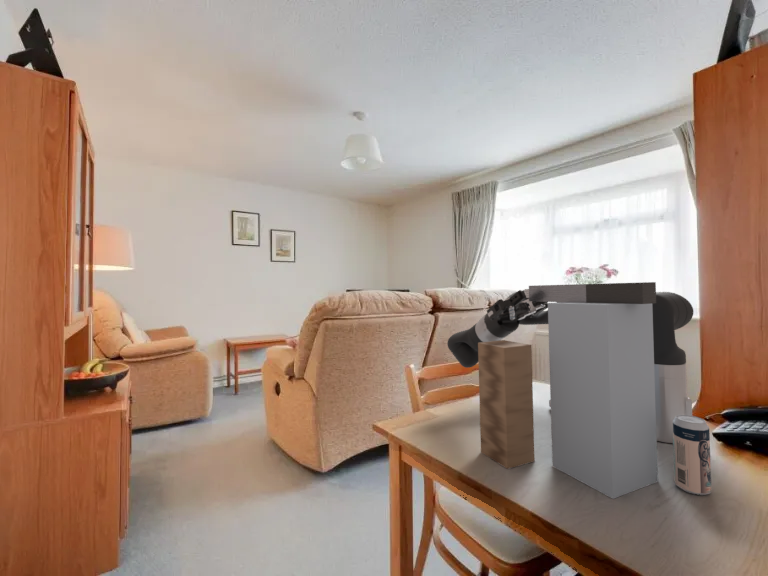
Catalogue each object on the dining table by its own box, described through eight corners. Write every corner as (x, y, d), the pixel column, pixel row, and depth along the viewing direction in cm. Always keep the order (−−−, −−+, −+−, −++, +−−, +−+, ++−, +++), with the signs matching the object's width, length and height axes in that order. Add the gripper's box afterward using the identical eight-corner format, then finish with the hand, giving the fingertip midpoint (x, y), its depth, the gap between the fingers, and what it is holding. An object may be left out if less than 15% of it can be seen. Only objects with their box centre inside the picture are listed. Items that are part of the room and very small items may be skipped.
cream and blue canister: (714, 500, 57) (712, 426, 57) (676, 492, 60) (674, 420, 60) (707, 486, 61) (705, 416, 61) (672, 479, 64) (670, 412, 64)
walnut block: (480, 452, 76) (477, 342, 76) (506, 445, 79) (503, 340, 79) (507, 468, 69) (504, 347, 69) (534, 461, 72) (531, 344, 72)
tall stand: (594, 453, 74) (590, 300, 74) (657, 481, 63) (652, 301, 63) (552, 466, 69) (547, 302, 70) (612, 498, 58) (607, 304, 59)
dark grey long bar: (522, 301, 81) (522, 285, 81) (533, 300, 83) (533, 285, 83) (642, 304, 58) (642, 282, 58) (656, 303, 59) (655, 282, 59)
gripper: (523, 336, 93) (569, 306, 80) (478, 340, 87) (520, 309, 74) (512, 310, 96) (554, 278, 83) (468, 313, 91) (506, 279, 78)
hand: (538, 293), depth 79 cm, fingers open, 8 cm apart
